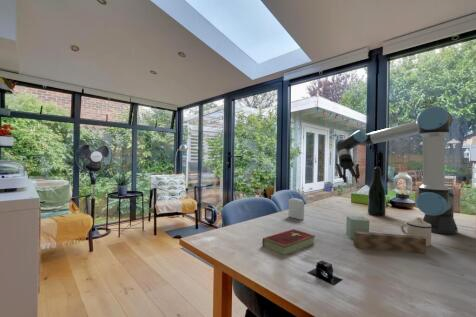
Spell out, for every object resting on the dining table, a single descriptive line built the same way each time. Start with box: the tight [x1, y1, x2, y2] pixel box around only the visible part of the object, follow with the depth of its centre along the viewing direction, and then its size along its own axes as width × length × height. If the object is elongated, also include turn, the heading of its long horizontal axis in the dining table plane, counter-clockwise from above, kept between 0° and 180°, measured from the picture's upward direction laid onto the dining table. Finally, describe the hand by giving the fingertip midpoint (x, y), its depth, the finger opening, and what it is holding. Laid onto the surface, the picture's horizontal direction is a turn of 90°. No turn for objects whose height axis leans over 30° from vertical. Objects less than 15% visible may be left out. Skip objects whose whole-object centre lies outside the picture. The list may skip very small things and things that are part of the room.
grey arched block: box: [288, 197, 305, 221], centre depth 144 cm, size 10×4×12 cm, turn 39°
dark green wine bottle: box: [367, 166, 387, 217], centre depth 158 cm, size 10×10×33 cm
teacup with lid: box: [400, 216, 432, 247], centre depth 105 cm, size 12×9×12 cm
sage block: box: [345, 215, 370, 239], centre depth 112 cm, size 8×8×9 cm
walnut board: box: [353, 231, 427, 255], centre depth 96 cm, size 26×3×6 cm, turn 78°
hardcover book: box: [261, 228, 316, 256], centre depth 99 cm, size 12×21×4 cm, turn 129°
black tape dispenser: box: [306, 260, 344, 286], centre depth 73 cm, size 12×7×5 cm, turn 38°
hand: (351, 186), depth 129 cm, fingers open, 3 cm apart
